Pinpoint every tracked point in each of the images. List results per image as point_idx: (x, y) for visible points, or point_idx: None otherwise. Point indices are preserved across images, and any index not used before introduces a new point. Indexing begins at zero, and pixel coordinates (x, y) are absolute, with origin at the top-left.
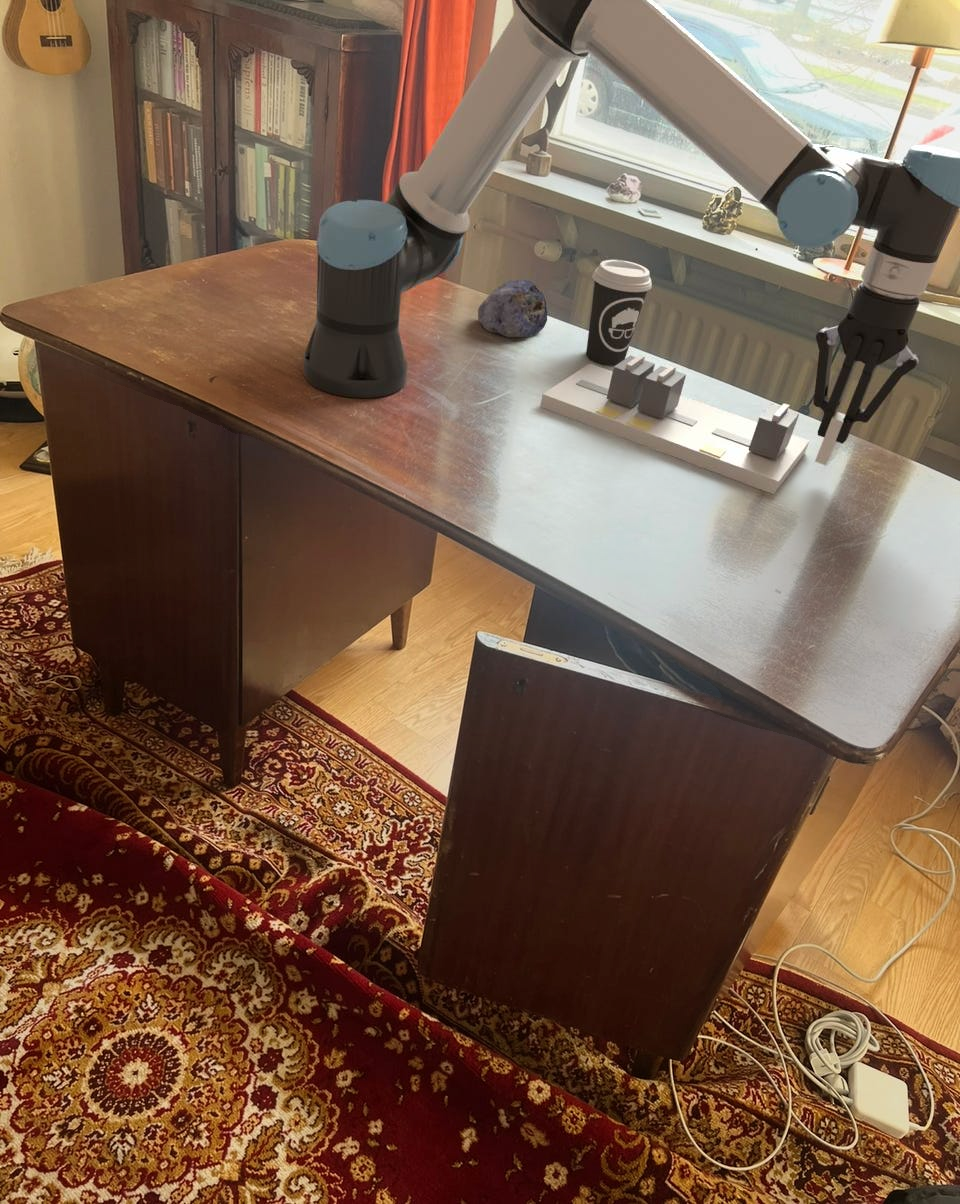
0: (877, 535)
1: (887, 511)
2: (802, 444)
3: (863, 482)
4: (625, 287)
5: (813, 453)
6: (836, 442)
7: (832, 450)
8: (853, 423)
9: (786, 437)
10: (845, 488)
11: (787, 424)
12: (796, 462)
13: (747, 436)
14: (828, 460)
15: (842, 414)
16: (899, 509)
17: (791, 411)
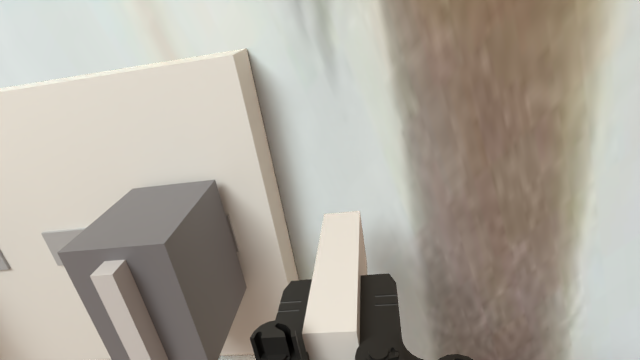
0: (562, 319)
1: (570, 196)
2: (233, 108)
3: (467, 79)
4: None
5: (265, 21)
6: (359, 253)
7: (363, 261)
8: (401, 336)
9: (217, 289)
10: (431, 166)
11: (199, 356)
12: (269, 166)
13: (112, 203)
14: (363, 239)
15: (335, 342)
16: (604, 156)
17: (138, 255)
